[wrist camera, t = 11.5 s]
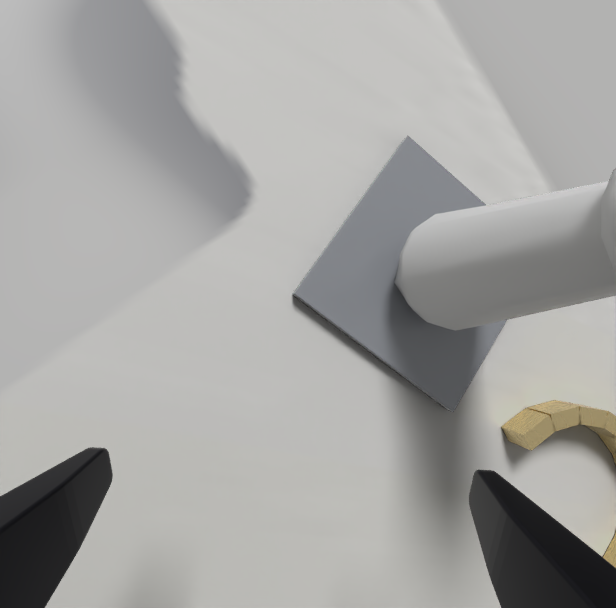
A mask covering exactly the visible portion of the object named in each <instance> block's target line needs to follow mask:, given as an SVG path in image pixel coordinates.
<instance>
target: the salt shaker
mask: <svg viewBox="0 0 616 608" xmlns="http://www.w3.org/2000/svg"><path fill="white" fill-rule="evenodd" d="M394 283H395V284H396V286H397V287H398V289H399V290H400V292H401V293H402V295H403V296H404V298H405V300H406V301H407V303H408V305H409V306H410V307H411V308H412V310H413V311H414V312H415V313H417V314H418V315H419V316H420V317H421V318H422V319H424V320H425V321H426V322H428V323H431V324H434V325H438V326H441V327H444V328H447V329H451V330H455V331H456V330H461V329H466V328H471V327H476V326H480V325H485V324H489V323H494V322H498V321H503V320H507V319H512V318H516V317H521V316H525V315H530V314H534V313H539V312H543V311H548V310H552V309H557V308H561V307H566V306H570V305H575V304H579V303H584V302H588V301H593V300H597V299H602V298H606V297H611V296H615V295H616V169H614V170H613V172H612V175H611V177H610V179H609V181H606V182H601V183H596V184H591V185H586V186H581V187H576V188H571V189H566V190H561V191H556V192H551V193H546V194H541V195H536V196H530V197H525V198H520V199H515V200H510V201H505V202H500V203H495V204H490V205H485V206H480V207H474V208H468V209H462V210H456V211H451V212H445V213H439V214H435V215H433V216H432V217H430V218H429V219H427V220H426V221H425V222H423V223H422V224H420V225H419V226H417V227H416V228H415V229H414V230H413V231H411V233H410V235H409V237H408V239H407V241H406V243H405V245H404V247H403V249H402V251H401V253H400V257H399V266H398V270H397V274H396V278H395V282H394Z"/></svg>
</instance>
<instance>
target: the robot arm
mask: <svg viewBox="0 0 616 608" xmlns="http://www.w3.org/2000/svg"><path fill="white" fill-rule="evenodd" d="M112 476H113V475H112V468H111V463H110V457H109V452H108V451H107V449H105V448H94V447H92V448H88V449H85V450H84V451H82V452H80V453H78V454H76V455H75V456H73V457H71V458H69V459H67V460H66V461H64V462H62V463H60V464H58V465H57V466H55V467H53V468H51V469H49V470H47V471H46V472H44V473H42V474H40V475H38V476H37V477H35V478H33V479H31V480H29V481H28V482H26V483H24V484H22V485H20V486H19V487H17V488H15V489H13V490H11V491H9V492H8V493H6V494H4V495H2V496H0V608H45V606H46V605H47V603H48V601H49V600H50V598H51V596H52V595H53V593H54V591H55V589H56V588H57V586H58V584H59V583H60V581H61V579H62V578H63V576H64V574H65V573H66V571H67V569H68V568H69V566H70V564H71V563H72V561H73V559H74V557H75V556H76V554H77V552H78V550H79V549H80V547H81V545H82V543H83V541H84V539H85V537H86V535H87V533H88V531H89V529H90V526H91V524H92V522H93V520H94V518H95V516H96V514H97V512H98V510H99V508H100V506H101V504H102V502H103V500H104V497H105V495H106V493H107V491H108V489H109V487H110V485H111V482H112ZM469 505H470V509H471V513H472V516H473V520H474V523H475V527H476V530H477V534H478V537H479V541H480V544H481V548H482V552H483V555H484V559H485V562H486V566H487V569H488V572H489V575H490V578H491V581H492V584H493V587H494V590H495V592H496V595H497V597H498V600H499V602H500V605H501V608H616V568H615V567H614V566H613V565H612V564H610V563H609V562H608V561H606V560H605V559H604V558H603V557H601V556H600V555H599V554H598V553H596V552H595V551H594V550H593V549H591V548H590V547H589V546H588V545H586V544H585V543H584V542H583V541H581V540H580V539H579V538H578V537H576V536H575V535H574V534H573V533H571V532H570V531H569V530H568V529H566V528H565V527H564V526H563V525H561V524H560V523H559V522H558V521H556V520H555V519H554V518H553V517H551V516H550V515H549V514H548V513H546V512H545V511H544V510H543V509H541V508H540V507H539V506H538V505H536V504H535V503H534V502H533V501H531V500H530V499H529V498H528V497H526V496H525V495H524V494H523V493H521V492H520V491H519V490H518V489H516V488H515V487H514V486H513V485H511V484H510V483H509V482H508V481H506V480H505V479H504V478H503V477H501V476H500V475H499V474H498V473H496V472H494V471H491V470H476V471H475V473H474V476H473V480H472V485H471V489H470V494H469Z"/></svg>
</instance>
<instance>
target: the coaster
mask: <svg viewBox="0 0 616 608" xmlns="http://www.w3.org/2000/svg"><path fill="white" fill-rule="evenodd" d="M485 205H486V204H484V203H483V202H482V201H481V200H480V199H479V198H478V197H477V196H475V195H474V194H473V193H472V192H471V191H470V190H469V189H468V188H466V187H465V186H464V185H463V184H462V183H461V182H460V181H459V180H457V179H456V178H455V177H454V176H453V175H452V174H451V173H450V172H448V171H447V170H446V169H445V168H444V167H443V166H442V165H441V164H439V163H438V162H437V161H436V160H435V159H434V158H433V157H432V156H430V155H429V154H428V153H427V152H426V151H425V150H424V149H423V148H421V147H420V146H419V145H418V144H417V143H416V142H415V141H414V140H412V139H411V138H410V137H409V136H407V137H406V138H405V139H404V140H403V141H402V142H401V144H400V145H399V147H398V148H397V149H396V151H395V152H394V154H393V155H392V156H391V158H390V159H389V161H388V162H387V163H386V165H385V166H384V168H383V169H382V170H381V172H380V173H379V174H378V176H377V177H376V179H375V180H374V181H373V183H372V184H371V186H370V187H369V188H368V190H367V191H366V193H365V194H364V195H363V197H362V198H361V200H360V201H359V202H358V204H357V205H356V206H355V208H354V209H353V211H352V212H351V213H350V215H349V216H348V218H347V219H346V220H345V222H344V223H343V225H342V226H341V227H340V229H339V230H338V232H337V233H336V234H335V236H334V237H333V238H332V240H331V241H330V243H329V244H328V245H327V247H326V248H325V250H324V251H323V252H322V254H321V255H320V257H319V258H318V259H317V261H316V262H315V264H314V265H313V266H312V268H311V269H310V270H309V272H308V273H307V275H306V276H305V277H304V279H303V280H302V282H301V283H300V284H299V286H298V287H297V289H296V290H295V291H294V293H293V295H294V296H295V297H297V298H298V299H299V300H301V301H302V302H303V303H305V304H306V305H307V306H309V307H310V308H311V309H313V310H314V311H315V312H317V313H318V314H319V315H321V316H322V317H323V318H325V319H326V320H328V321H329V322H330V323H332V324H333V325H334V326H336V327H337V328H338V329H340V330H341V331H342V332H344V333H345V334H346V335H348V336H349V337H350V338H352V339H353V340H354V341H356V342H357V343H358V344H360V345H361V346H362V347H364V348H365V349H366V350H368V351H369V352H370V353H372V354H373V355H374V356H376V357H377V358H378V359H380V360H381V361H382V362H384V363H385V364H386V365H388V366H389V367H391V368H392V369H393V370H395V371H396V372H397V373H399V374H400V375H401V376H403V377H404V378H405V379H407V380H408V381H409V382H411V383H412V384H413V385H415V386H416V387H417V388H419V389H420V390H421V391H423V392H424V393H425V394H427V395H428V396H429V397H431V398H432V399H433V400H435V401H436V402H437V403H439V404H440V405H441V406H443V407H444V408H445V409H447V410H449V411H452V412H454V410H455V408H456V407H457V405H458V403H459V402H460V400H461V398H462V396H463V395H464V393H465V391H466V390H467V388H468V386H469V384H470V383H471V381H472V379H473V377H474V376H475V374H476V372H477V371H478V369H479V367H480V365H481V364H482V362H483V360H484V358H485V357H486V355H487V353H488V352H489V350H490V348H491V346H492V345H493V343H494V341H495V340H496V338H497V336H498V334H499V333H500V331H501V329H502V327H503V326H504V324H505V322H506V321H507V320H503V321H498V322H494V323H489V324H485V325H480V326H476V327H471V328H466V329H461V330H456V331H455V330H451V329H447V328H444V327H441V326H438V325H434V324H431V323H428V322H426V321H425V320H424V319H422V318H421V317H420V316H419V315H418V314H417V313H415V312H414V311H413V310H412V308H411V307H410V306H409V305H408V303H407V301H406V300H405V298H404V296H403V295H402V293H401V292H400V290H399V289H398V287H397V286H396V284H395V283H394V282H395V278H396V274H397V270H398V266H399V257H400V253H401V251H402V249H403V247H404V245H405V243H406V241H407V239H408V237H409V235H410V233H411V231H413V230H414V229H415V228H416V227H417V226H419V225H420V224H422V223H423V222H425V221H426V220H427V219H429V218H430V217H432V216H433V215H435V214H439V213H445V212H451V211H456V210H462V209H468V208H474V207H480V206H485Z"/></svg>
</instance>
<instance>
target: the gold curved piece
mask: <svg viewBox="0 0 616 608" xmlns="http://www.w3.org/2000/svg"><path fill="white" fill-rule="evenodd" d="M579 424H581V425H585V426H587V427H588V428H590V429H591V430H593V431H594V432H596V433H597V434H598V435H599V436H600V438H601V439H602V441H603V442H604V443H605V445H606V446H607V448H608V449H609V450H610V452H611V453H612V455H613V459H614V462H615V465H616V416H615V415H613V414H612V413H610V412H609V411H605V410H601V409H597V408H592V407H588V406H584V405H579V404H573V403H567V402H562V401H556V400H555V401H554V400H553V401H549V402H546V403H542V404H538V405H534V406H531V407H527V409H526V408H525V409H524V410H523V411H521V412H520V413H519V414H517V415H516V416H515V417H513V418H512V419H511V420H510V421H508V422H507V423H506V424H504V425H503V426H502V429H503V431H504V433H505V435H506V437H507V439H508V441H510V442H512V443H514V444H517V445H519V446H522V447H524V448H526V449H529V450H531V451H532V450H533V449H534V448H535V447H537V446H538V445H539V444H540V443H542V442H543V441H544V440H545V439H547V438H548V437H549V436H550V435H552V434H553V433H554V432H555V431H559V430H562V429H565V428H569V427H572V426H576V425H579ZM603 558H604V559H605V560H606V561H608V562H609V563H610V564H612V565H613V566H614V567H615V568H616V532H615V536H614V538H613V540H612V541H611V543H610V545H609V547H608V549H607V551H606V552H605V554H604V556H603Z"/></svg>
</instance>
